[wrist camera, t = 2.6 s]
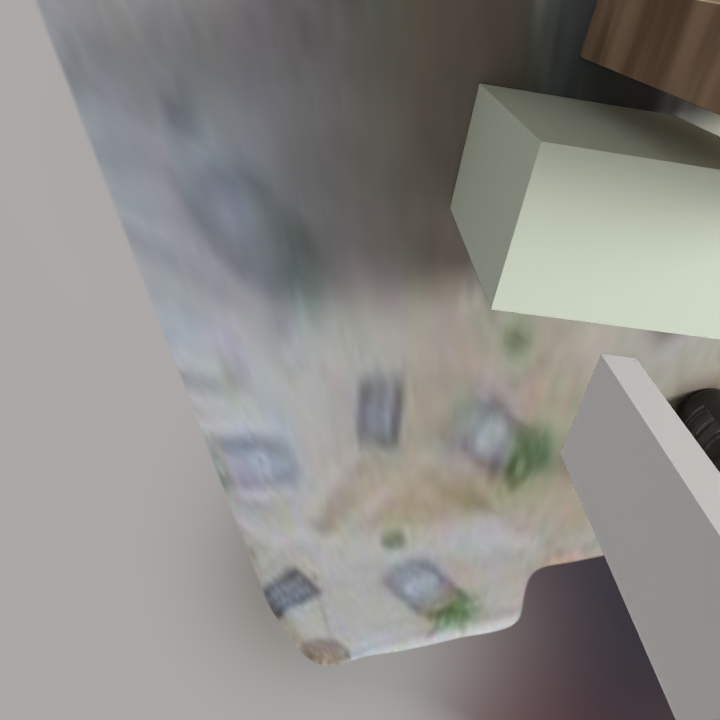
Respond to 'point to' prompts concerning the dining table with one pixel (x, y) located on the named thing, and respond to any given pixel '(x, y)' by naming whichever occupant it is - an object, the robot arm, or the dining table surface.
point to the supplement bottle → (703, 421)
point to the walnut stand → (660, 45)
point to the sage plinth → (591, 212)
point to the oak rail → (711, 1)
